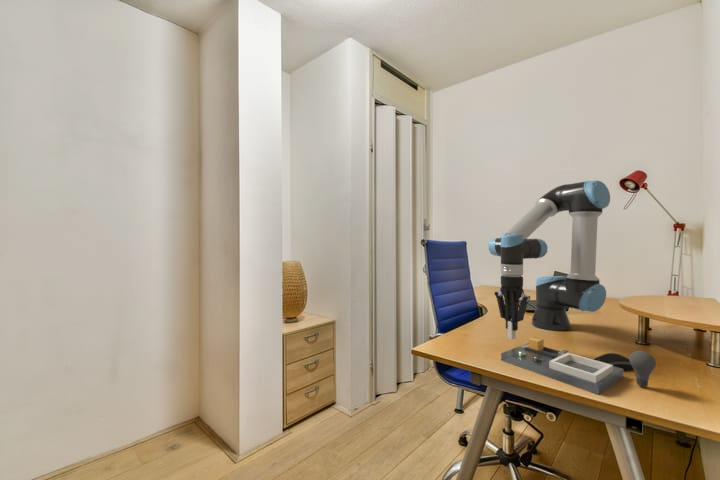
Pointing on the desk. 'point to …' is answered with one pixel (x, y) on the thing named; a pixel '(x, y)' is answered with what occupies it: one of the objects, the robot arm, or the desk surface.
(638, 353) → the light bulb
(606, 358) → the computer mouse
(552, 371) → the panel
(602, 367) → the socket
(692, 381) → the desk surface
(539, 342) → the wooden block
